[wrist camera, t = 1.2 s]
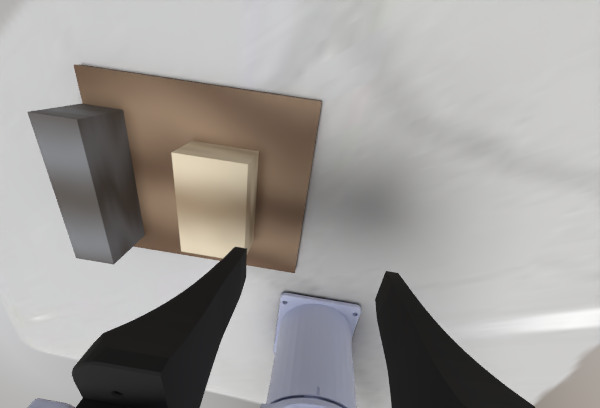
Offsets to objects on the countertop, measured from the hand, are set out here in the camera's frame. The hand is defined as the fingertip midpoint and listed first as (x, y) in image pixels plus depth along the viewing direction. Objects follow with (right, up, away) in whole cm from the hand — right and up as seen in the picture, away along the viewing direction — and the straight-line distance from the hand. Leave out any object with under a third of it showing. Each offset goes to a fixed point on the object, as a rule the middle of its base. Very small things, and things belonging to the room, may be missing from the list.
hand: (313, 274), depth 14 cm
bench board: (-9, +5, +8) cm, 13 cm away
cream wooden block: (-7, +4, +8) cm, 11 cm away
